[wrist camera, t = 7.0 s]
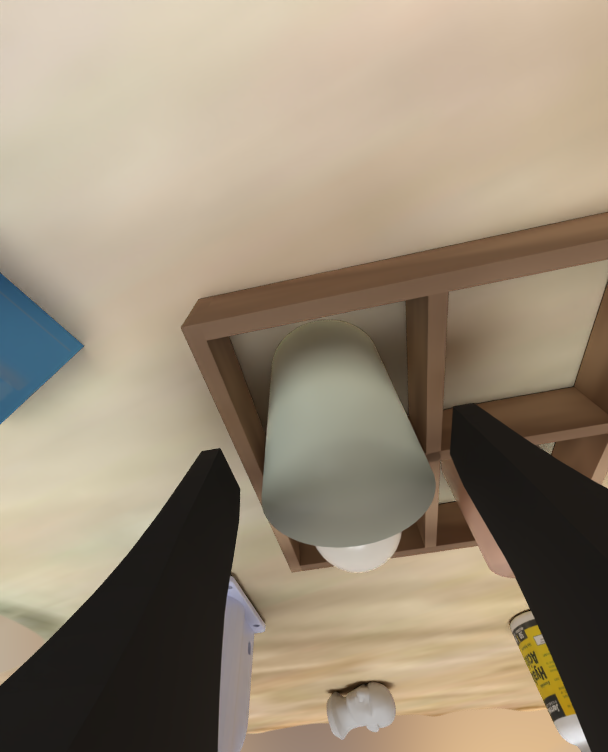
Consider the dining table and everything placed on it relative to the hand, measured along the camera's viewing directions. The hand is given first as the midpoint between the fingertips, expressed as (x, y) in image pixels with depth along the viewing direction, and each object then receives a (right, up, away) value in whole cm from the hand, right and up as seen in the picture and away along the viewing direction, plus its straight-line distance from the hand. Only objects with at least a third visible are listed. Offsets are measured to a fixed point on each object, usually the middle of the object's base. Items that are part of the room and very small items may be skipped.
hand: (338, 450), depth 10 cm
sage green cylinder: (0, +3, +4) cm, 5 cm away
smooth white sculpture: (+6, -35, +30) cm, 47 cm away
